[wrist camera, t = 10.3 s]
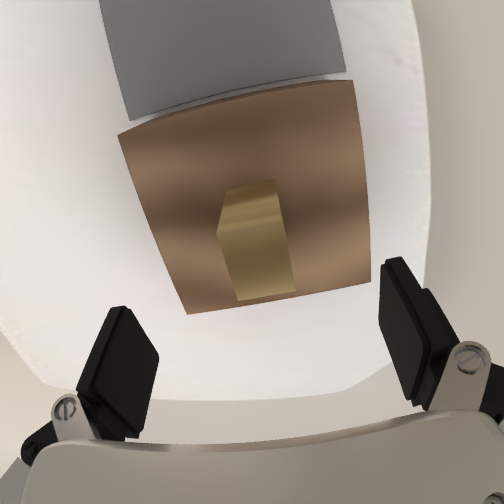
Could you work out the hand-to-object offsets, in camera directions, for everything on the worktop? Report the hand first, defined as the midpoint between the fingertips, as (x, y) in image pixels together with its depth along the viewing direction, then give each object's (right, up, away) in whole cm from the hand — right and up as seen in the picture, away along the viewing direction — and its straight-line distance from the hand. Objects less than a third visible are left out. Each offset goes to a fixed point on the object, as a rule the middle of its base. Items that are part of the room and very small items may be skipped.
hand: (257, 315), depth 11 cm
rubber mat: (-4, +23, +7) cm, 24 cm away
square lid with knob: (0, +8, +15) cm, 18 cm away
